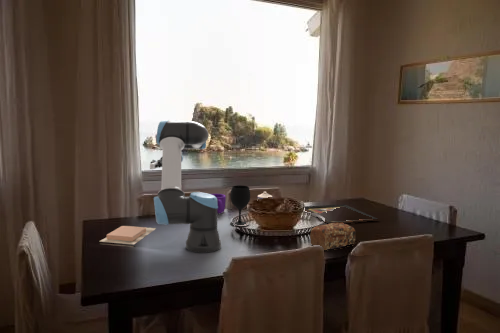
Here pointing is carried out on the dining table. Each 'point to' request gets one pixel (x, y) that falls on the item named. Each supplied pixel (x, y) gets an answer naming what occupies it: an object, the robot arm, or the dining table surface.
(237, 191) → the wine glass
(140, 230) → the tile
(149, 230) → the board
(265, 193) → the teacup with lid
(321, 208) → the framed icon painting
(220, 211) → the mug
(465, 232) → the dining table surface
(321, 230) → the bread
